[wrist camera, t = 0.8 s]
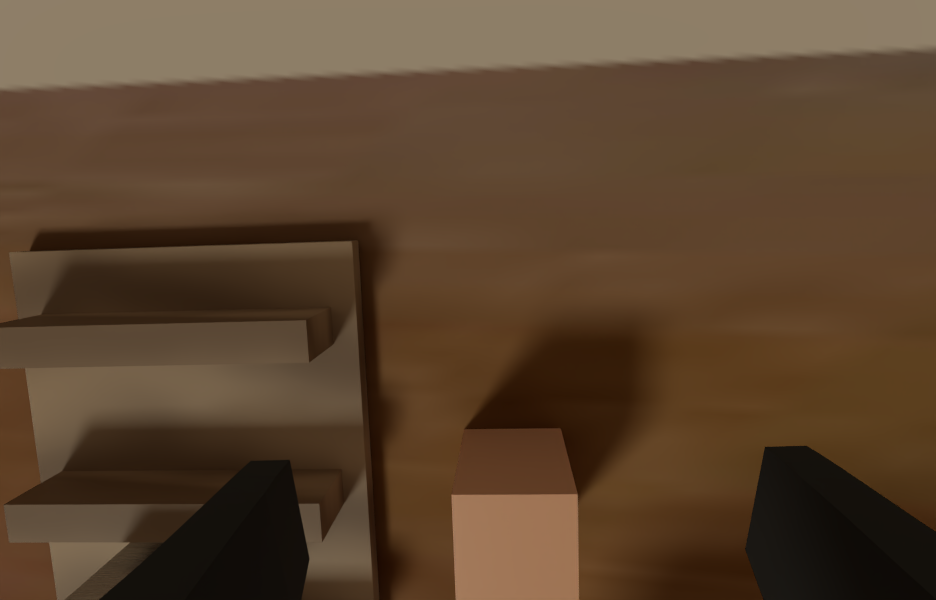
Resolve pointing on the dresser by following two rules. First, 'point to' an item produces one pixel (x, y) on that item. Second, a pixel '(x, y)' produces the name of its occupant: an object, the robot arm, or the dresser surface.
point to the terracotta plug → (515, 516)
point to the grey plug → (113, 571)
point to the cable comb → (193, 397)
